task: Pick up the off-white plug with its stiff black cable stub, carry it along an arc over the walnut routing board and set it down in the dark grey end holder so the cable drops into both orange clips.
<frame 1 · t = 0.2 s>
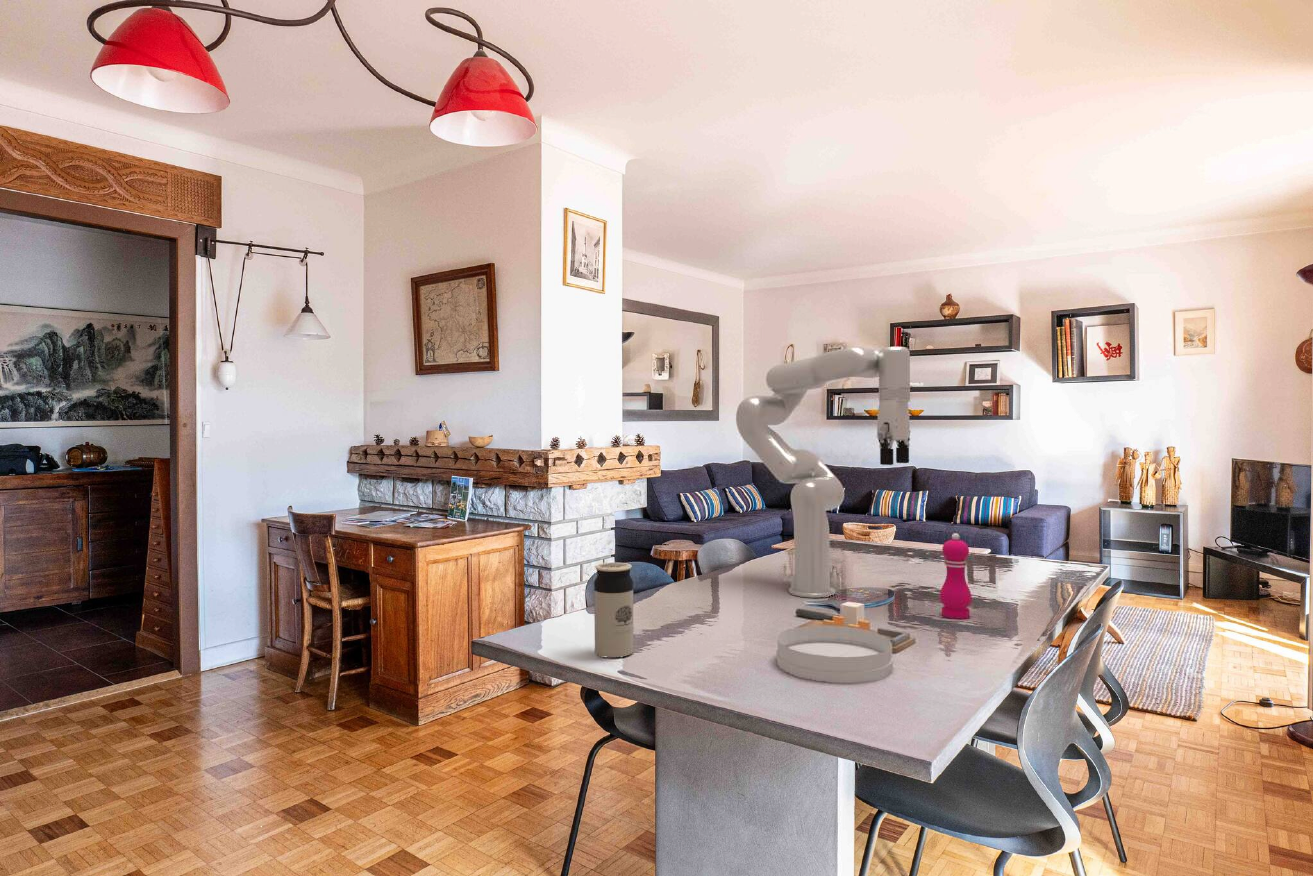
hand: (894, 463, 194), 36 cm above the table, tool pointing down, fingers open, 9 cm apart
connector: (852, 626, 177), on the table
pepper mill: (955, 616, 185), on the table
clip b: (833, 629, 170), resting on route board
dish: (833, 666, 149), on the table
travel mug: (614, 654, 157), on the table
end holder: (885, 639, 162), resting on route board
clip a: (858, 634, 166), resting on route board
route board: (852, 637, 167), on the table
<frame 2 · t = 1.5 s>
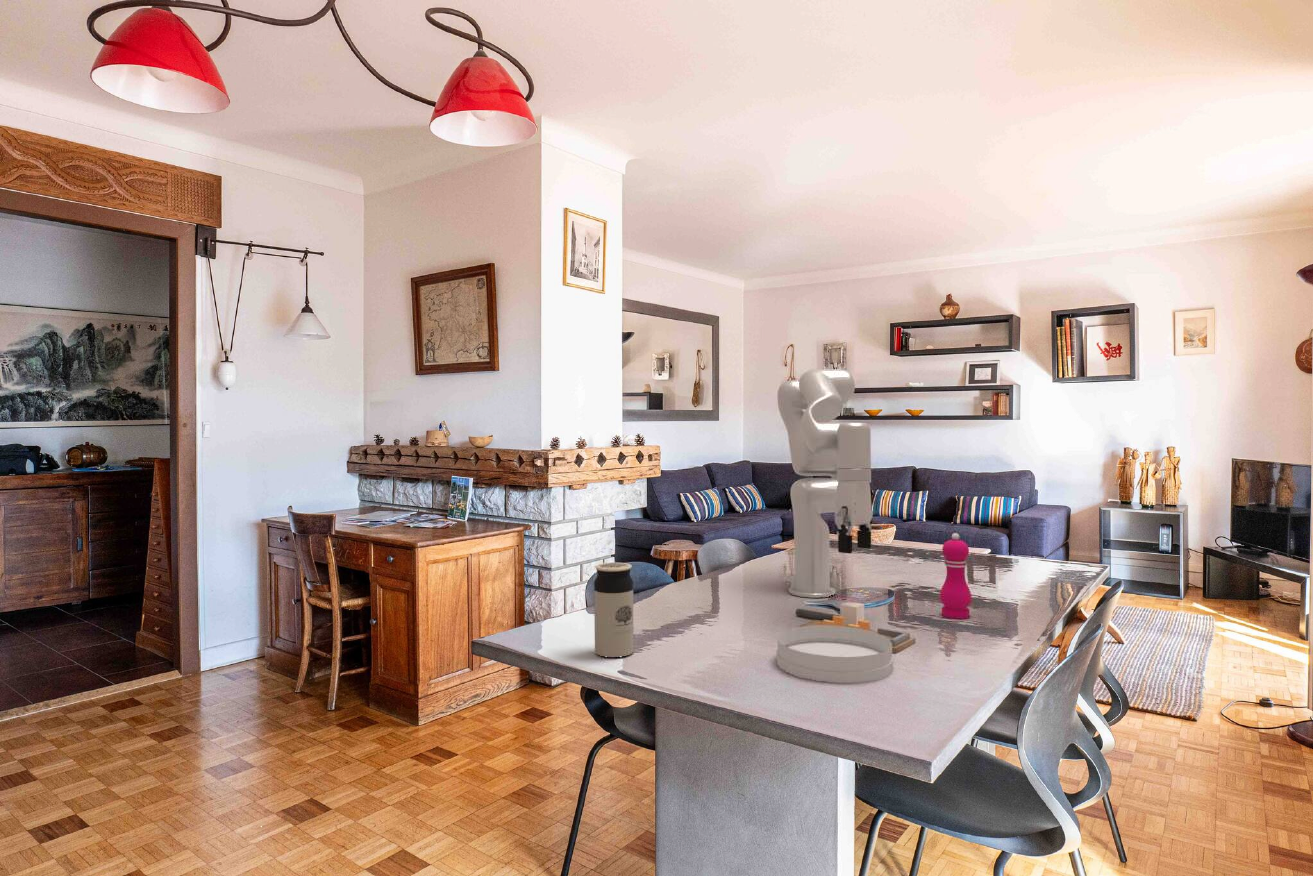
hand: (855, 550, 177), 17 cm above the table, tool pointing down, fingers open, 9 cm apart
nothing on the table moved.
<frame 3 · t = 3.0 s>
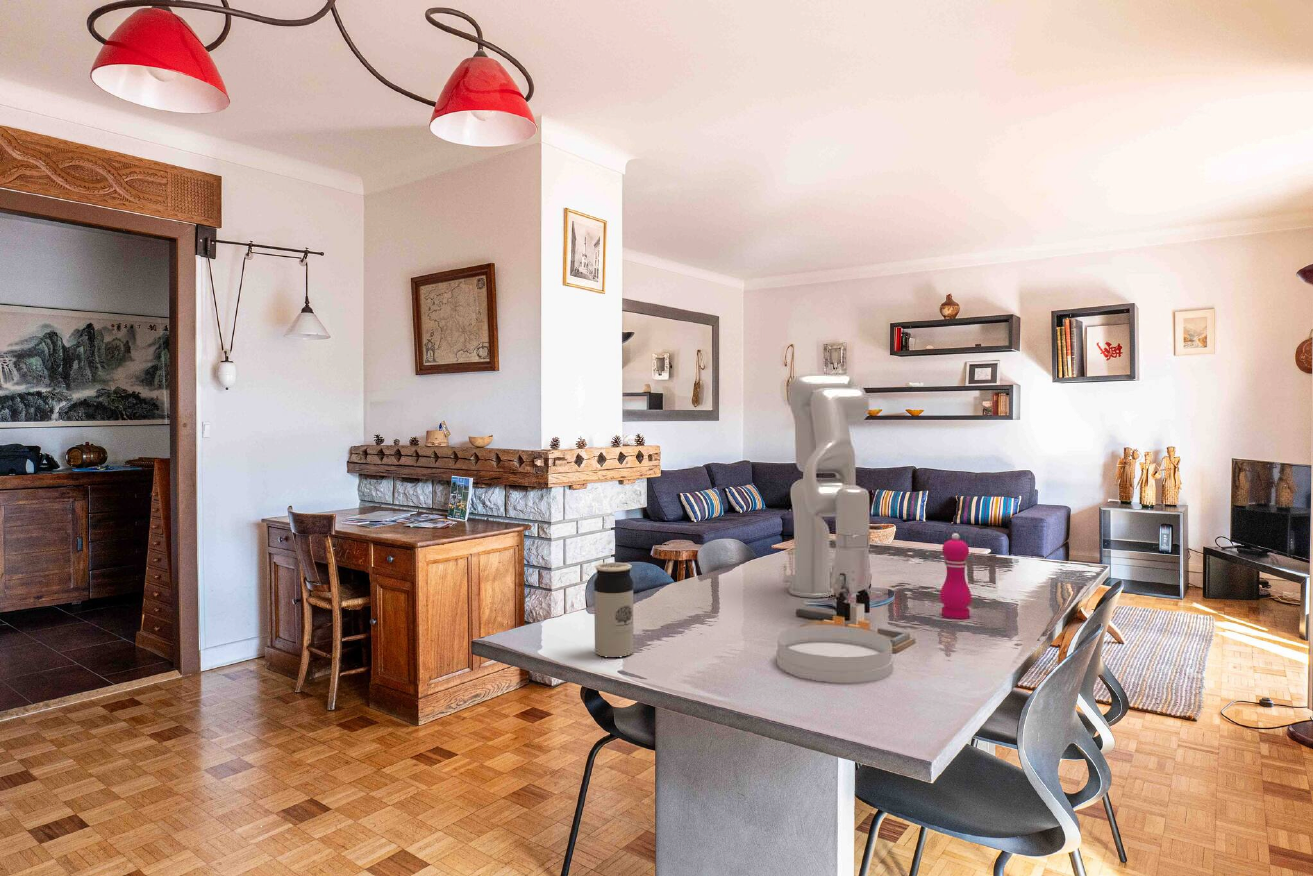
hand: (853, 616, 176), 2 cm above the table, tool pointing down, fingers open, 9 cm apart
nothing on the table moved.
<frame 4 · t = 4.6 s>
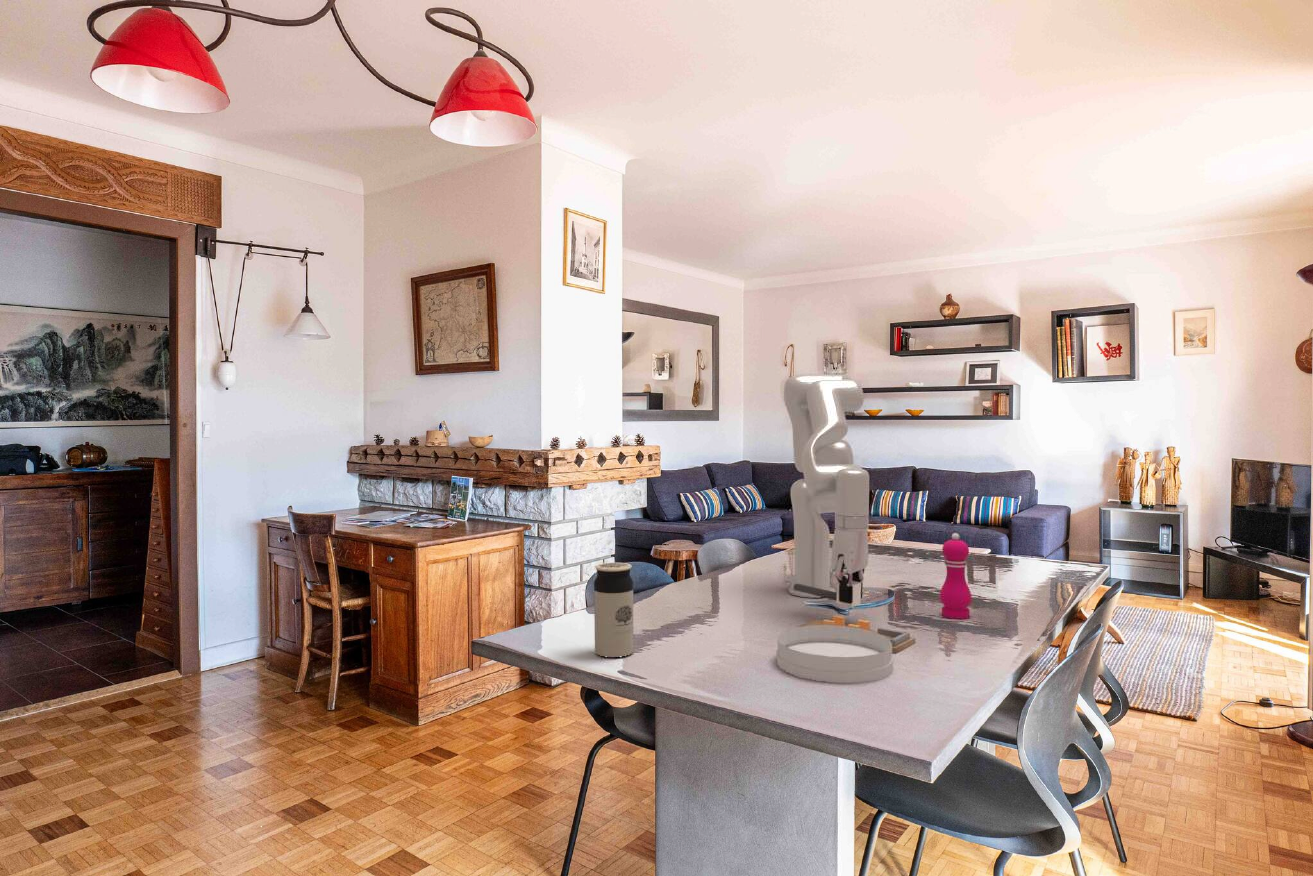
hand: (850, 599, 178), 6 cm above the table, tool pointing down, fingers closed on connector, 4 cm apart
connector: (848, 603, 178), point 5 cm above the table, touching gripper
everything else where it was.
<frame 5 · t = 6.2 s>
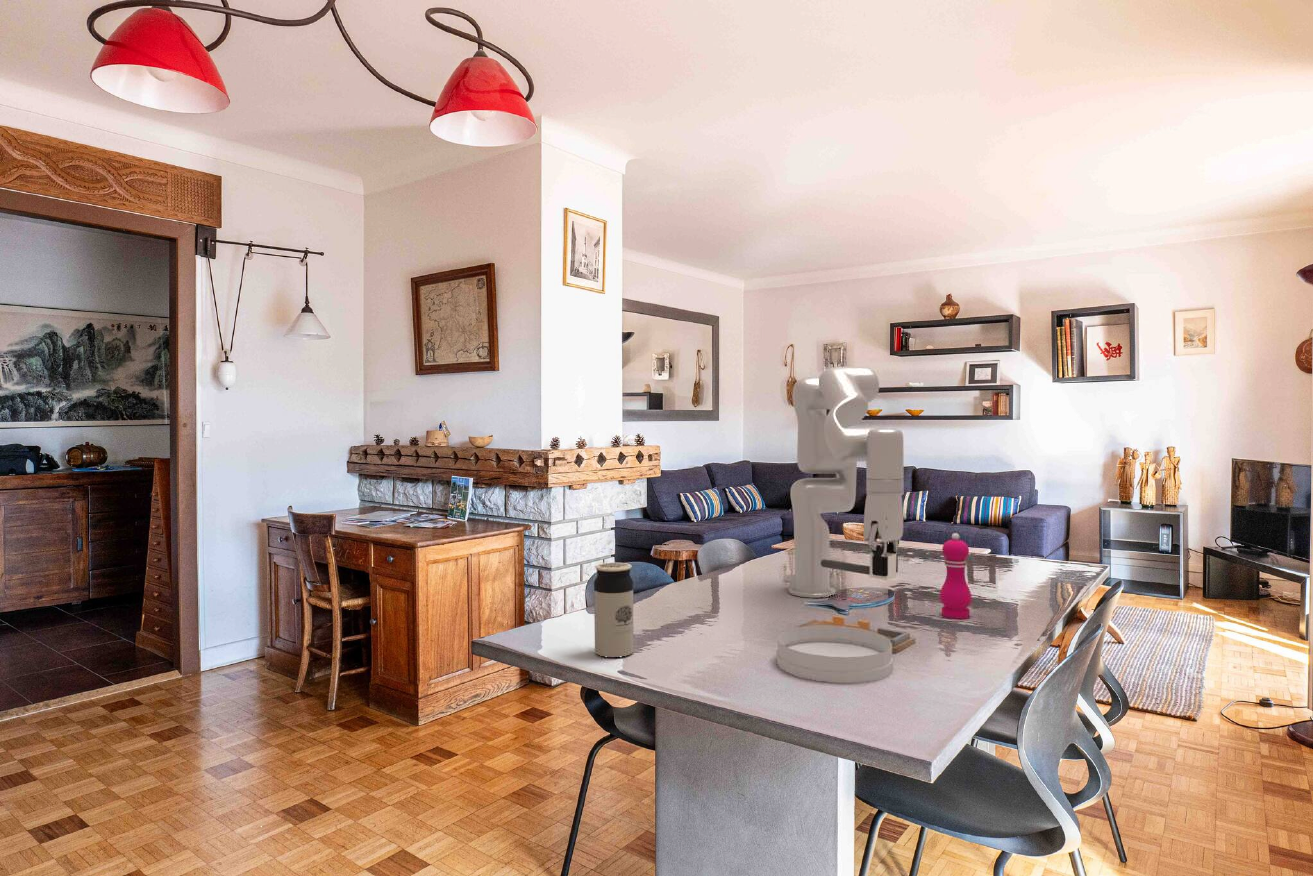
hand: (885, 572, 162), 15 cm above the table, tool pointing down, fingers closed on connector, 4 cm apart
connector: (882, 577, 162), point 14 cm above the table, touching gripper
everything else where it was.
when the fingers open (3 cm above the table, at t = 8.7 s): connector stays where it is, resting on clip a, route board.
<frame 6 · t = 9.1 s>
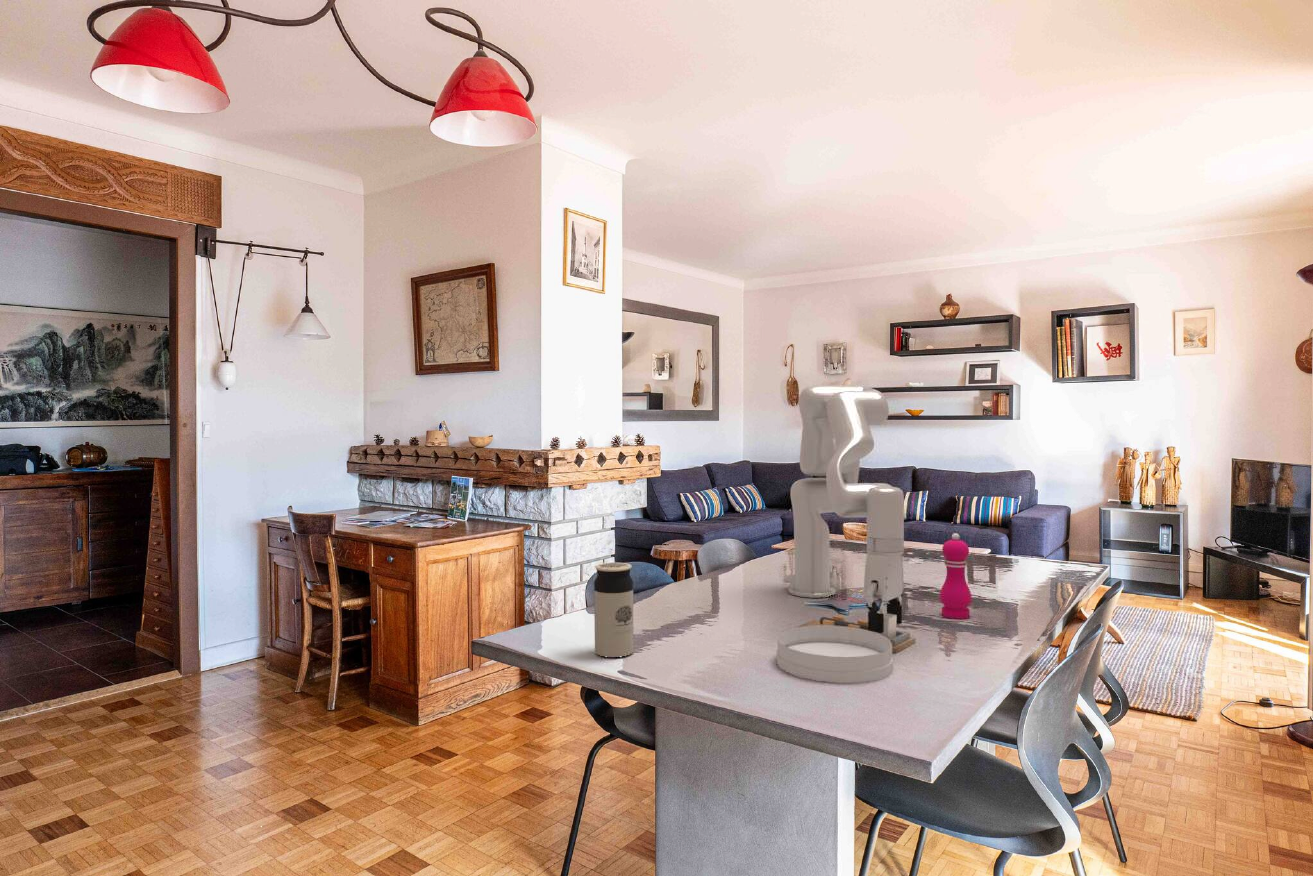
hand: (885, 627, 162), 4 cm above the table, tool pointing down, fingers open, 8 cm apart
connector: (882, 638, 162), point 1 cm above the table, touching clip a, route board
everything else where it was.
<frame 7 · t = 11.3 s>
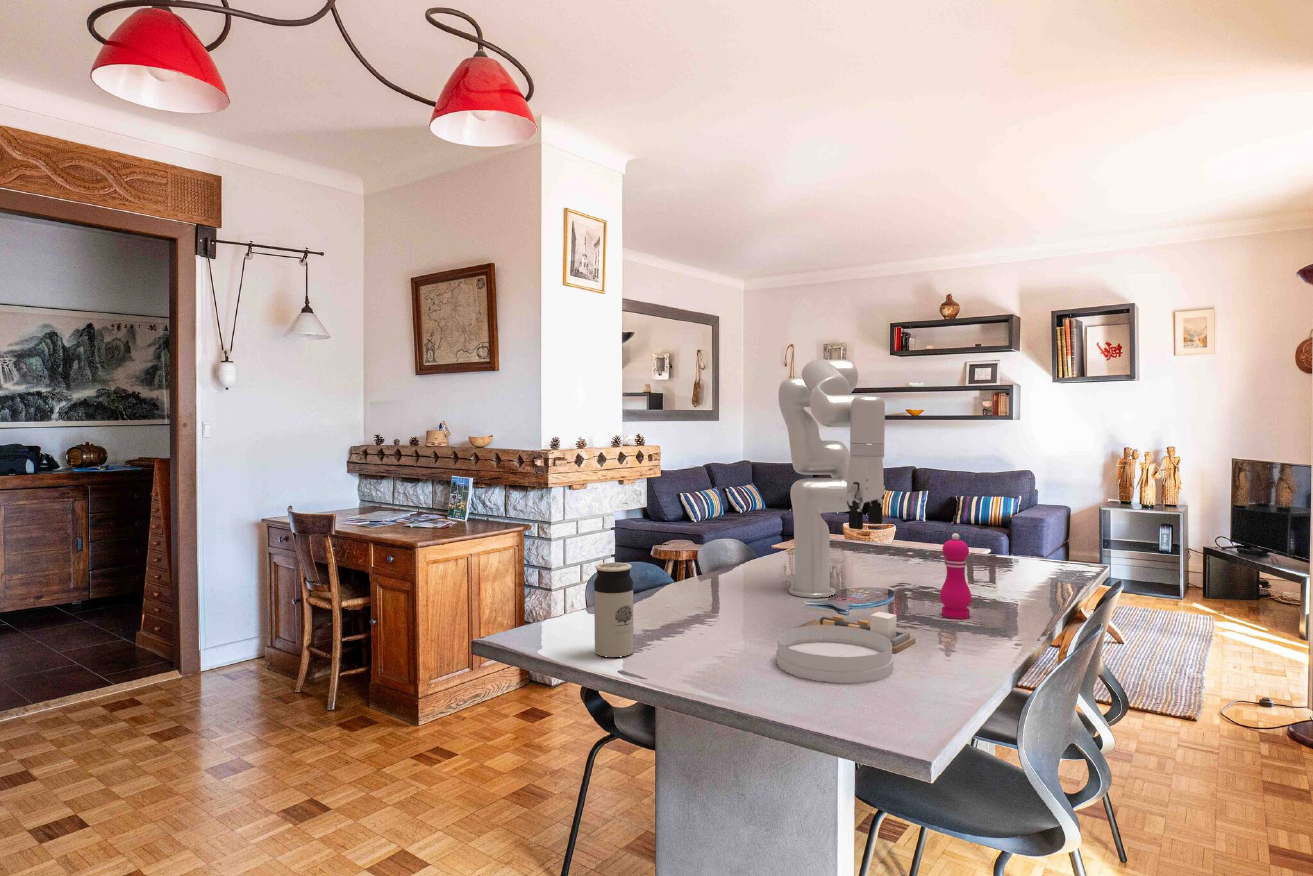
hand: (865, 525, 175), 23 cm above the table, tool pointing down, fingers open, 9 cm apart
nothing on the table moved.
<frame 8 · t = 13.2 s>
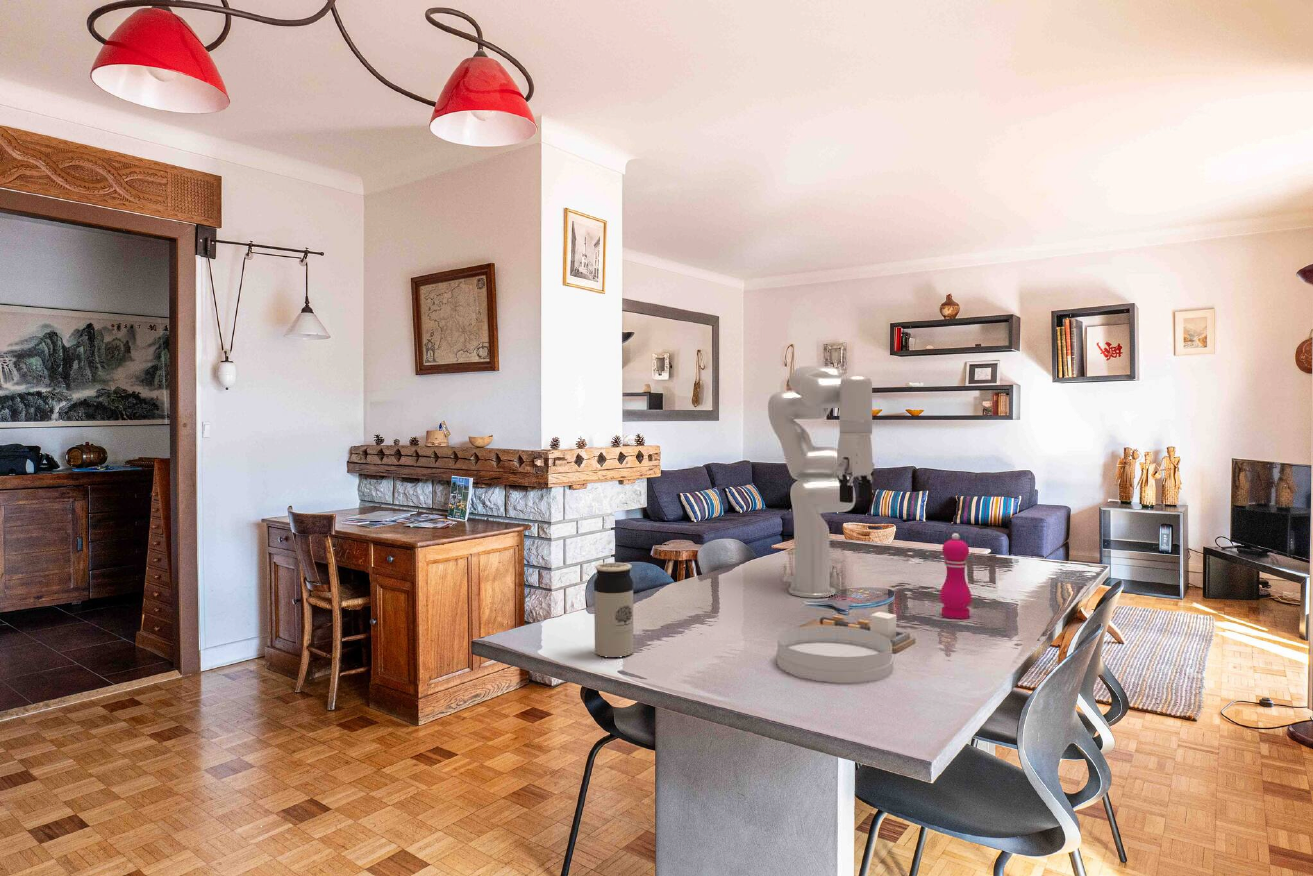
hand: (856, 500, 182), 28 cm above the table, tool pointing down, fingers open, 9 cm apart
nothing on the table moved.
at the end: connector 0.5 cm off-centre on the end holder, point 0.1 cm above the end holder's base; connector tilted 2°; the gripper is holding nothing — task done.
